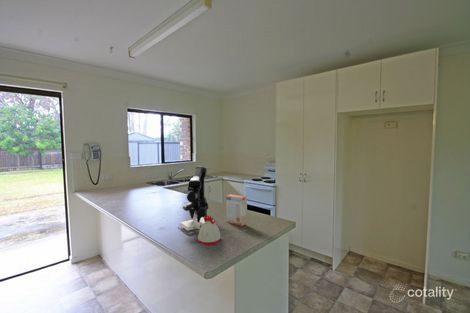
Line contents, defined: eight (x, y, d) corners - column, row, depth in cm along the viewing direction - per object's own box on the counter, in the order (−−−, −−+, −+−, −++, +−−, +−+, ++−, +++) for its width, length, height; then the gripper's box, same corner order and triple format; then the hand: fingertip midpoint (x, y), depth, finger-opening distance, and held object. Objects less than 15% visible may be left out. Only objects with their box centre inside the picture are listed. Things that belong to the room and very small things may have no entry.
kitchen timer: (207, 233, 142) (207, 211, 142) (225, 238, 136) (224, 214, 135) (193, 241, 130) (192, 217, 130) (211, 247, 124) (211, 221, 123)
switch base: (205, 221, 164) (205, 220, 164) (217, 228, 152) (217, 226, 152) (177, 228, 151) (177, 226, 151) (188, 236, 138) (187, 234, 138)
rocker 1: (192, 222, 156) (192, 219, 156) (200, 227, 146) (200, 224, 146) (180, 225, 150) (180, 222, 150) (188, 230, 140) (188, 227, 140)
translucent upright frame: (246, 224, 159) (246, 196, 158) (241, 227, 154) (241, 197, 153) (231, 220, 167) (231, 193, 166) (226, 222, 163) (226, 195, 162)
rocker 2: (205, 219, 162) (205, 216, 162) (214, 224, 152) (214, 220, 152) (194, 222, 157) (194, 218, 157) (203, 227, 147) (203, 223, 147)
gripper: (178, 197, 152) (178, 219, 153) (190, 202, 137) (190, 227, 138) (192, 194, 159) (193, 216, 159) (205, 200, 144) (205, 223, 145)
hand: (195, 220), depth 150 cm, fingers open, 9 cm apart
